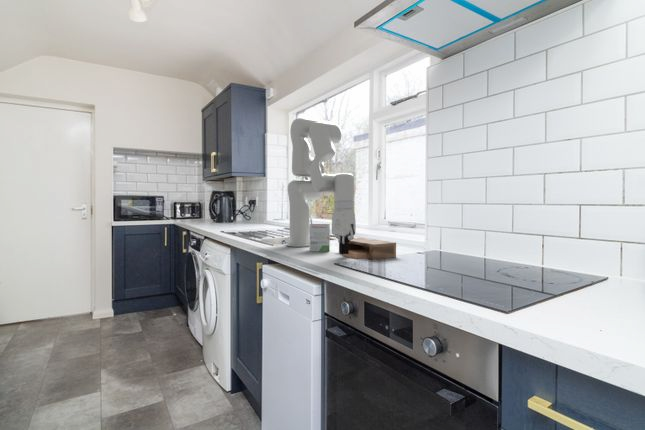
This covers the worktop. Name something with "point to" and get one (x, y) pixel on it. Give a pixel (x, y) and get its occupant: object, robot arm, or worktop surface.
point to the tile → (357, 253)
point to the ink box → (319, 237)
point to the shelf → (374, 247)
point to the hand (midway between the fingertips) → (343, 253)
